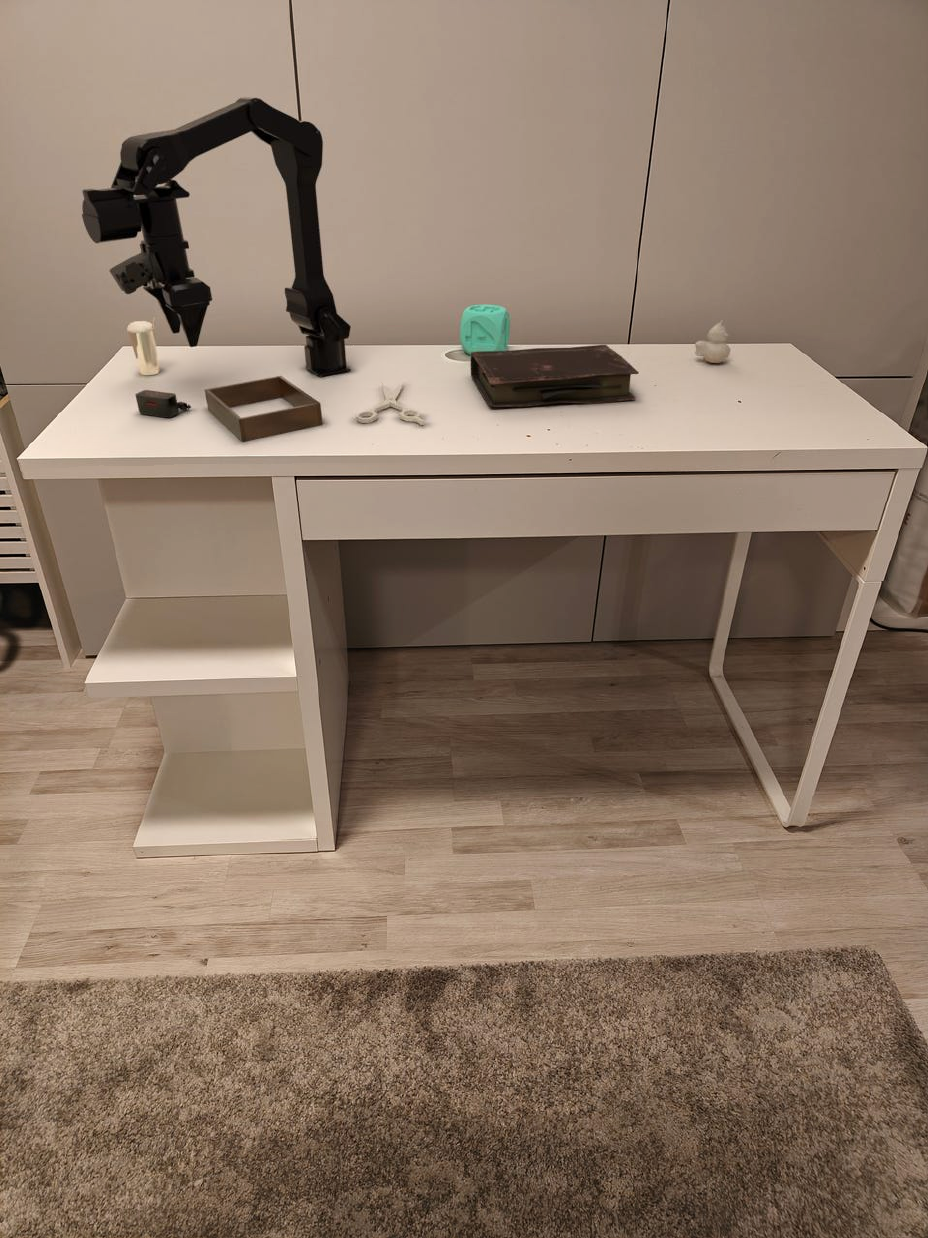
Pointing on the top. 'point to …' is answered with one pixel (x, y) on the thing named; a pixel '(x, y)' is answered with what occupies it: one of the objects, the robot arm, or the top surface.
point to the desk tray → (266, 423)
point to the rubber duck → (714, 345)
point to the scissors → (391, 402)
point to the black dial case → (159, 403)
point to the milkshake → (144, 346)
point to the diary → (552, 376)
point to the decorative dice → (485, 328)
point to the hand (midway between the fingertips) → (184, 339)
